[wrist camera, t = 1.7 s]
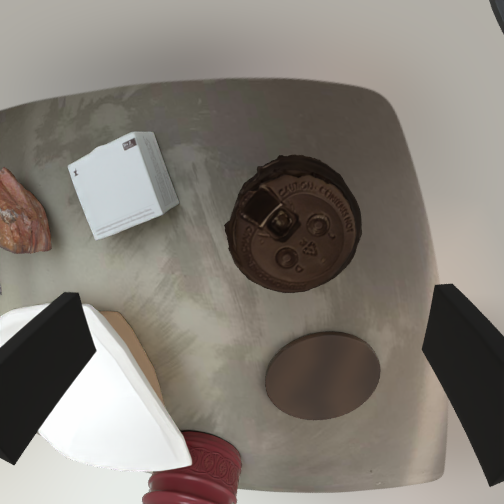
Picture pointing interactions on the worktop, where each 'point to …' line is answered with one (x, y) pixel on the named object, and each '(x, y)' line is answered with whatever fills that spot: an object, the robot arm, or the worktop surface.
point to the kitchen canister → (199, 474)
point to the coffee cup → (294, 225)
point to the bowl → (110, 401)
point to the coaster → (322, 375)
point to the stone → (21, 218)
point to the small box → (123, 184)
